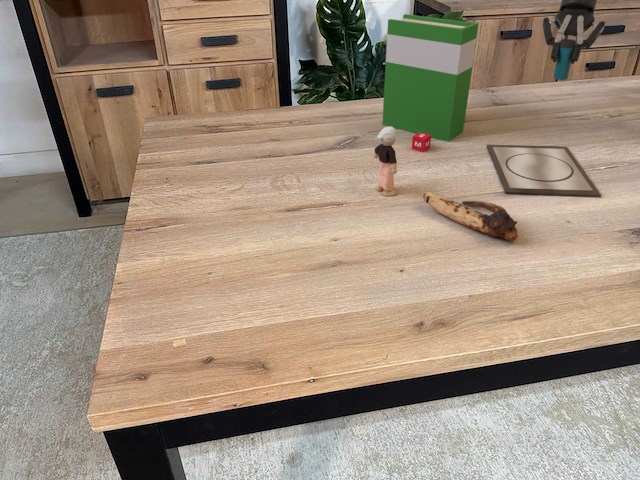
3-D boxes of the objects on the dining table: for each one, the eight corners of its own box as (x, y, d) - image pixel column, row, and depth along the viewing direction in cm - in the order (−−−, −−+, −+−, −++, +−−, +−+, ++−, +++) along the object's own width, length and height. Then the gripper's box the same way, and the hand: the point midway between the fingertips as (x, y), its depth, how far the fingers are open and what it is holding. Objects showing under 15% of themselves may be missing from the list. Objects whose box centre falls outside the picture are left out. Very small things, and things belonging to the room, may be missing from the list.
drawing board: (566, 148, 116) (566, 145, 116) (600, 197, 98) (601, 194, 98) (486, 146, 118) (487, 143, 117) (505, 194, 100) (506, 191, 99)
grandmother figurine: (405, 194, 100) (411, 130, 93) (390, 200, 98) (394, 136, 91) (379, 179, 105) (382, 118, 98) (363, 185, 103) (366, 122, 96)
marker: (565, 76, 127) (573, 39, 123) (569, 80, 125) (578, 42, 120) (551, 76, 128) (559, 39, 123) (555, 80, 125) (563, 42, 120)
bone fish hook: (533, 231, 89) (443, 193, 100) (540, 207, 87) (447, 171, 97) (505, 252, 84) (413, 210, 94) (511, 227, 81) (416, 186, 92)
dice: (423, 152, 116) (424, 139, 114) (411, 149, 117) (412, 136, 116) (430, 147, 118) (431, 134, 116) (418, 144, 119) (419, 131, 118)
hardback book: (382, 124, 129) (388, 19, 116) (398, 115, 134) (405, 14, 121) (448, 141, 120) (462, 29, 107) (463, 131, 125) (478, 23, 112)
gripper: (549, -18, 124) (532, 49, 121) (616, -15, 119) (600, 55, 116) (547, 3, 131) (530, 66, 128) (610, 7, 126) (594, 73, 123)
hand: (563, 60), depth 122 cm, fingers closed on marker, 3 cm apart
